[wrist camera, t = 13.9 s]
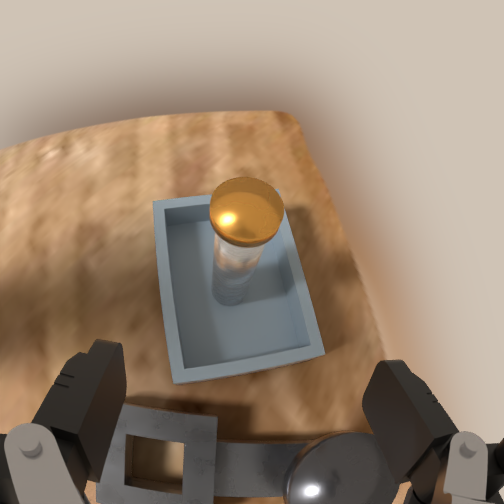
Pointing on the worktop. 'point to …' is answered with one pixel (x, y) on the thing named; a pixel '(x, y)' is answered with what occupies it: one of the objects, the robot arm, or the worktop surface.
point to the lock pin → (241, 233)
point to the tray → (229, 317)
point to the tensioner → (244, 464)
